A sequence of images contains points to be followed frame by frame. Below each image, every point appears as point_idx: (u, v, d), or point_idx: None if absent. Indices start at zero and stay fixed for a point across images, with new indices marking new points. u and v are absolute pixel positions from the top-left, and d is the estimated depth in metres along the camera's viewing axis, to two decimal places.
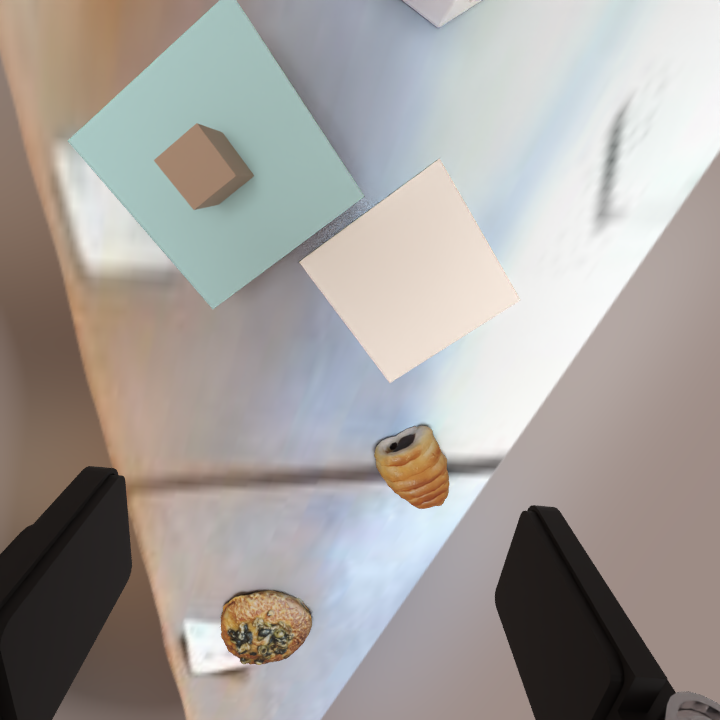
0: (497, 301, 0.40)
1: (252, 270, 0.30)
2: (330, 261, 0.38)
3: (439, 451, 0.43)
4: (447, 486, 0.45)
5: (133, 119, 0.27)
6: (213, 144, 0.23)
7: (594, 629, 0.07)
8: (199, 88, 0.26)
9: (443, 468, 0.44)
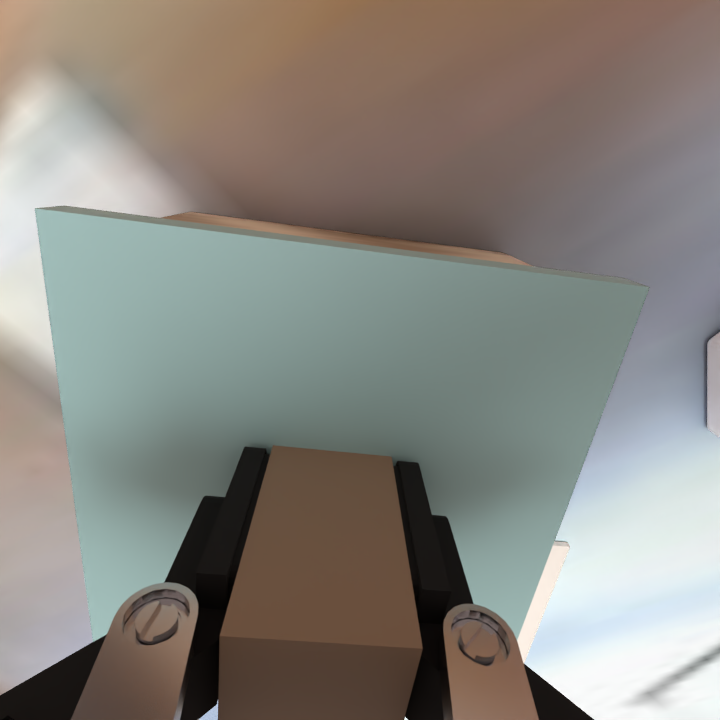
0: None
1: None
2: None
3: None
4: None
5: (240, 302, 0.10)
6: None
7: None
8: (426, 369, 0.10)
9: None
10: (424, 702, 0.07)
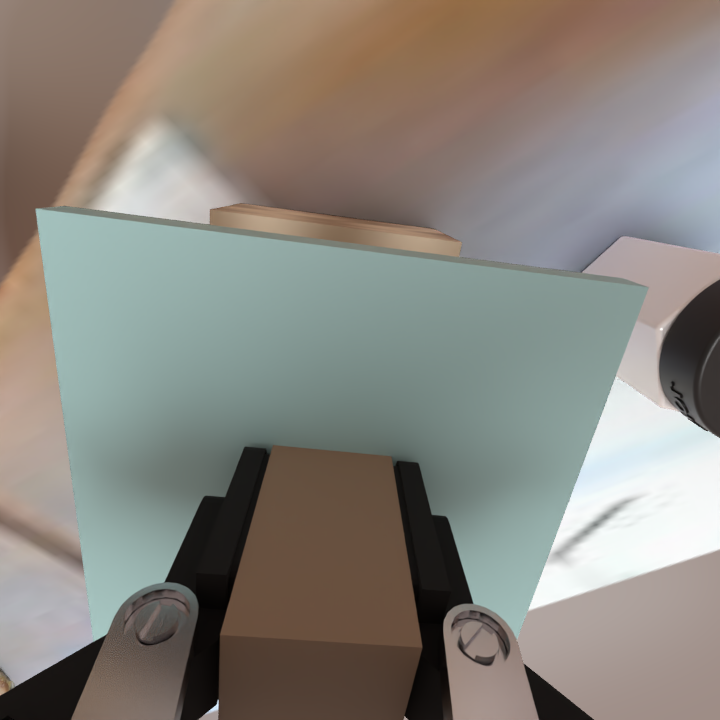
0: None
1: None
2: None
3: None
4: None
5: (240, 303, 0.10)
6: None
7: None
8: (426, 369, 0.10)
9: None
10: (424, 702, 0.07)
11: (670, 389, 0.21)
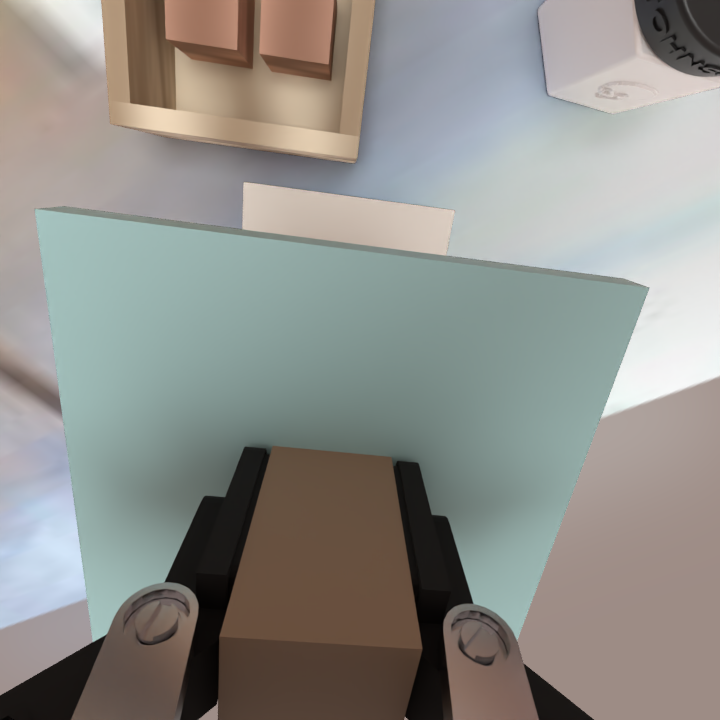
0: None
1: None
2: (276, 210, 0.29)
3: None
4: None
5: (240, 303, 0.10)
6: None
7: None
8: (426, 369, 0.10)
9: None
10: (424, 702, 0.07)
11: (646, 3, 0.17)
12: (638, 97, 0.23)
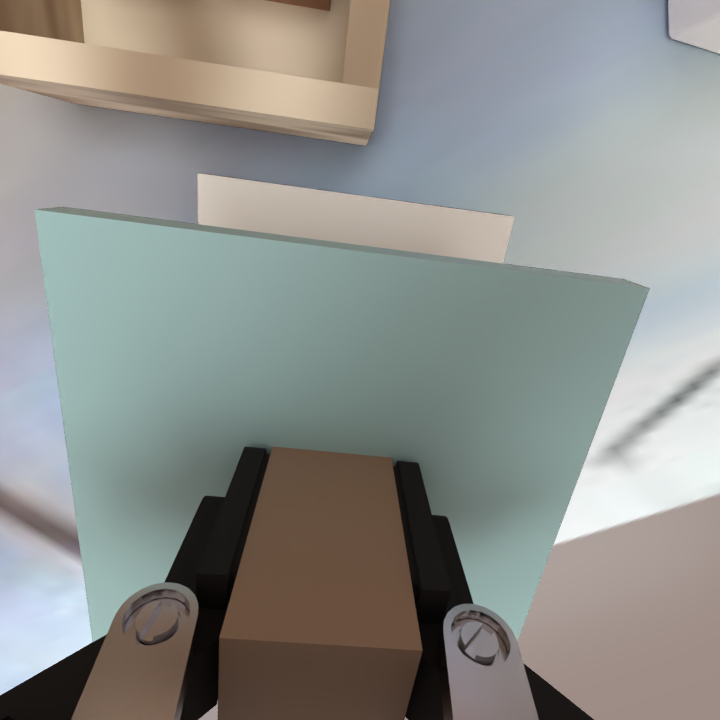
0: None
1: None
2: (248, 216, 0.20)
3: None
4: None
5: (240, 304, 0.10)
6: None
7: (407, 556, 0.08)
8: (426, 370, 0.10)
9: None
10: (424, 702, 0.07)
11: None
12: None
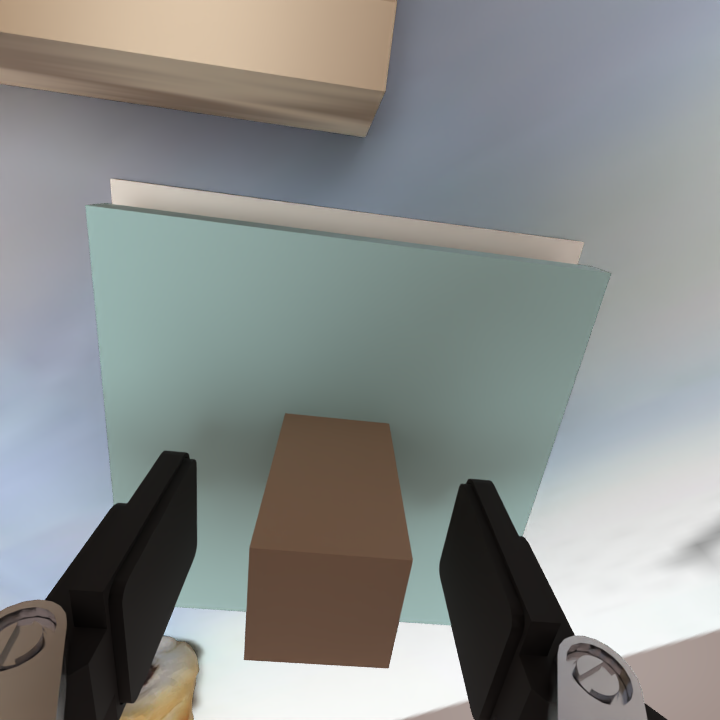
0: None
1: (242, 601, 0.15)
2: None
3: None
4: None
5: (258, 286, 0.11)
6: None
7: (504, 583, 0.08)
8: (419, 345, 0.12)
9: None
10: None
11: None
12: None
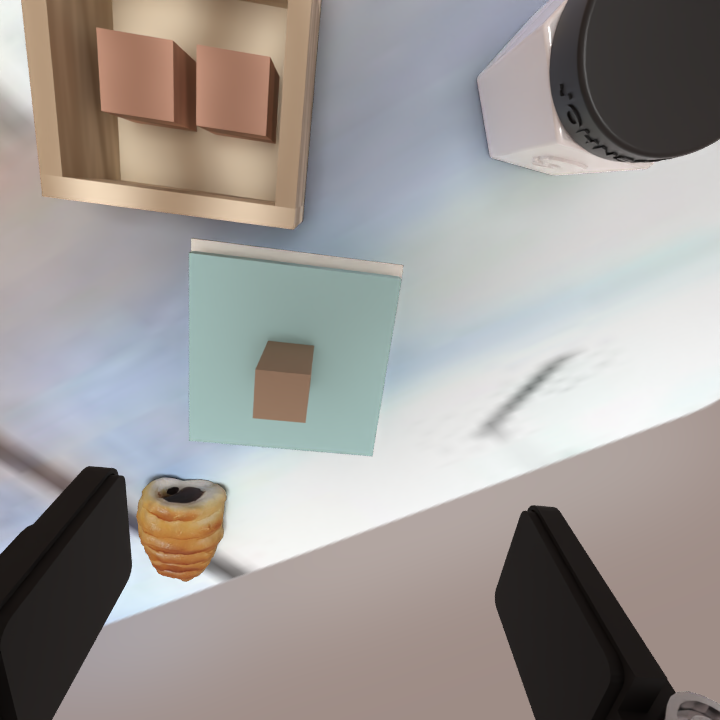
0: None
1: (247, 439, 0.31)
2: None
3: (218, 526, 0.35)
4: (204, 566, 0.36)
5: (256, 284, 0.28)
6: (308, 392, 0.25)
7: (594, 629, 0.07)
8: (325, 309, 0.28)
9: (211, 546, 0.35)
10: None
11: (560, 97, 0.18)
12: (570, 169, 0.24)
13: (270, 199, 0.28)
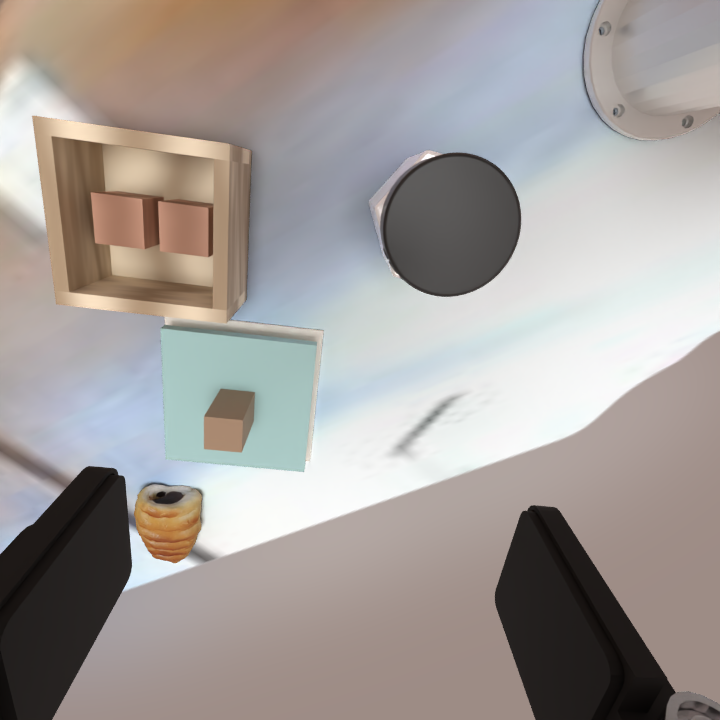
0: None
1: (209, 459, 0.42)
2: None
3: (196, 521, 0.45)
4: (187, 551, 0.47)
5: (210, 350, 0.38)
6: (242, 431, 0.35)
7: (594, 629, 0.07)
8: (261, 367, 0.39)
9: (191, 536, 0.46)
10: None
11: (385, 255, 0.28)
12: None
13: None
